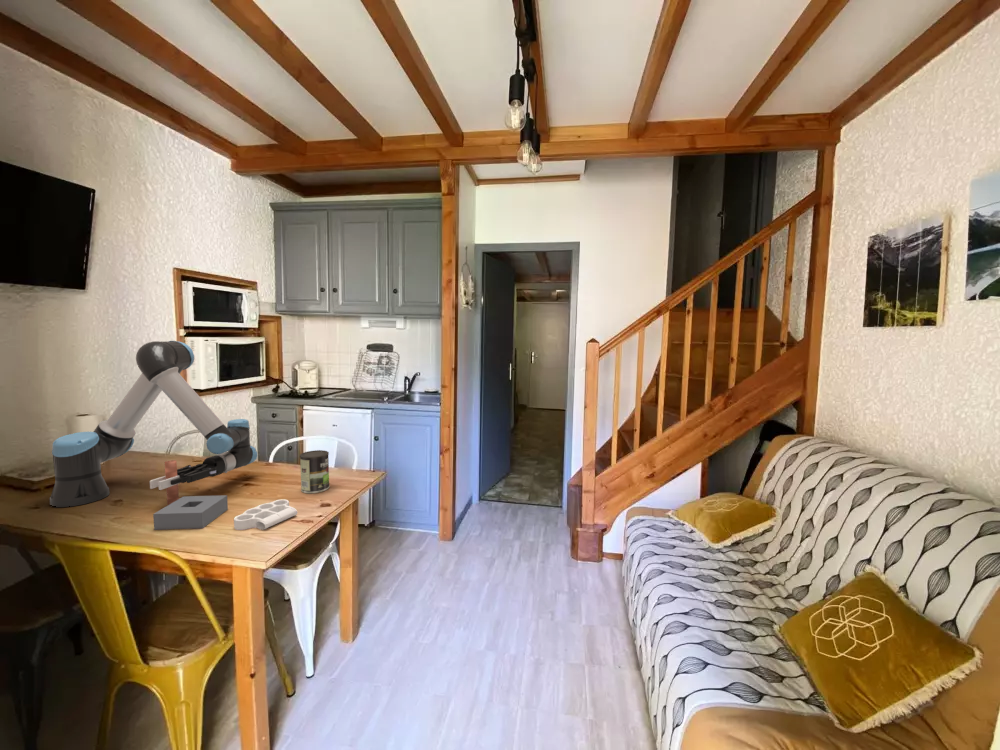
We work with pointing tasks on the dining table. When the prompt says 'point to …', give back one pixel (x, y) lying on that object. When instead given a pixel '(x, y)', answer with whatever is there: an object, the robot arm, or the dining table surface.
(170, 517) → the socket block
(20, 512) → the dining table surface
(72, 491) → the robot arm
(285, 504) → the knuckle duster
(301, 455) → the coffee can
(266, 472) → the dining table surface
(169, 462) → the dowel
